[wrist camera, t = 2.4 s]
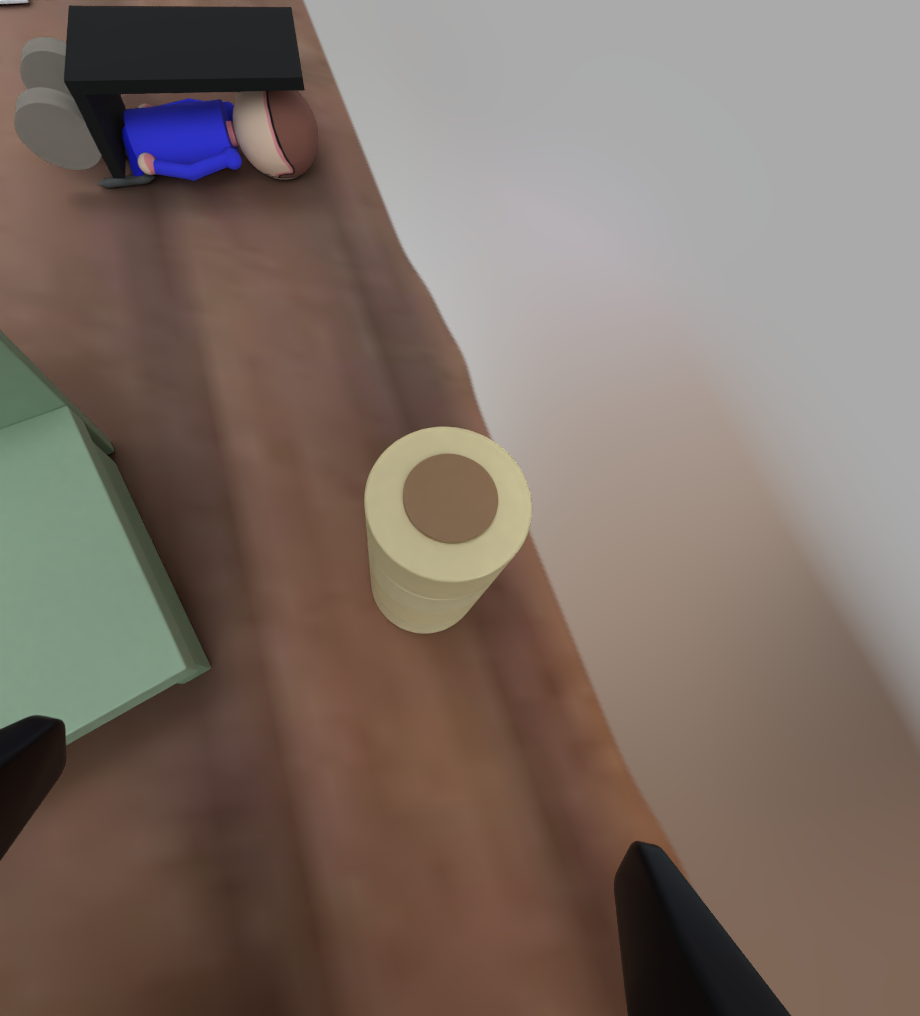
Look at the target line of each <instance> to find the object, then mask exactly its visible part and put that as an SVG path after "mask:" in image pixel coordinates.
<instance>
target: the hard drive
mask: <svg viewBox="0 0 920 1016" xmlns="http://www.w3.org/2000/svg"><path fill="white" fill-rule="evenodd" d="M28 2H29V1H28V0H0V4H16V3H28Z"/></svg>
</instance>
